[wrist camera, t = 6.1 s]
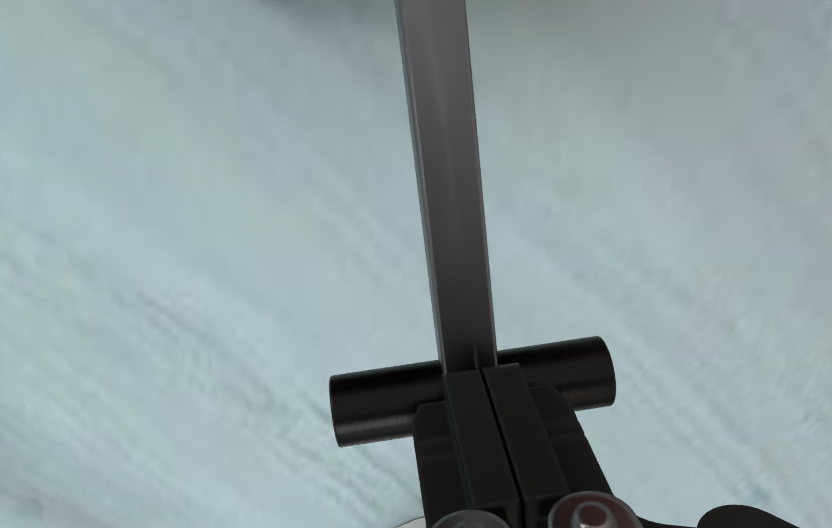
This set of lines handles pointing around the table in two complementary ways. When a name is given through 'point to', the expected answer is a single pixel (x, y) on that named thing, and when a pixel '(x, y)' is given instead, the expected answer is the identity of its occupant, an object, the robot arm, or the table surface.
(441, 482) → the robot arm
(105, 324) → the table surface
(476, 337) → the lever
